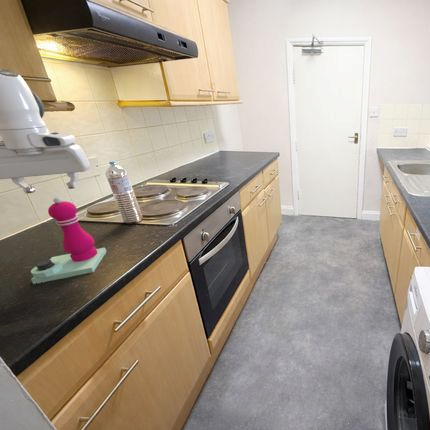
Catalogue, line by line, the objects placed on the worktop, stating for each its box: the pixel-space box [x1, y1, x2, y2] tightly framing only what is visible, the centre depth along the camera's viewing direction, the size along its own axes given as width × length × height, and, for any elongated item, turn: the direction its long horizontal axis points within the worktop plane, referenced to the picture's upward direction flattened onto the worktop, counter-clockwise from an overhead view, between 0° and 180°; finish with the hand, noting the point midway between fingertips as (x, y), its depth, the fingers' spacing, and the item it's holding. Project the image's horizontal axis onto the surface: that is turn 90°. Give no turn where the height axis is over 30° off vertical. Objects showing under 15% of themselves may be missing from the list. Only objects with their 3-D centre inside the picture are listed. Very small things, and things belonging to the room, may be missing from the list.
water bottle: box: [104, 160, 144, 225], centre depth 105 cm, size 7×7×25 cm
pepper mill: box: [47, 196, 97, 262], centre depth 79 cm, size 7×7×20 cm
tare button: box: [35, 259, 54, 271], centre depth 76 cm, size 3×3×2 cm
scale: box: [30, 247, 108, 285], centre depth 81 cm, size 14×13×4 cm
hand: (52, 190), depth 74 cm, fingers open, 8 cm apart
